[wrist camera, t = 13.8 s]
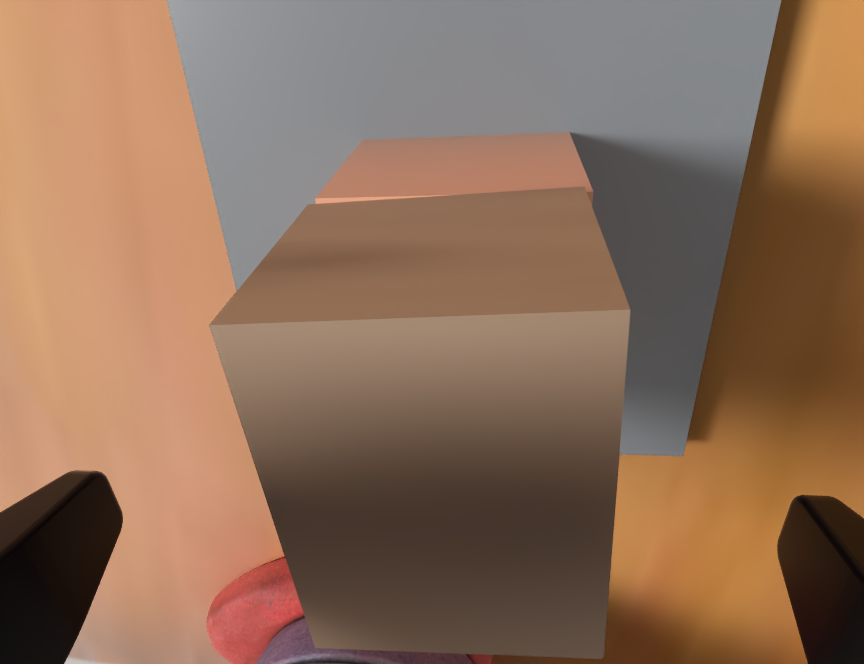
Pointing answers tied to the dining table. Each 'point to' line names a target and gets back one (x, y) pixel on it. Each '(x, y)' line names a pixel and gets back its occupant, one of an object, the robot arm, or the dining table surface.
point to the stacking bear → (289, 627)
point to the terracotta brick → (456, 167)
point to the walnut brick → (438, 418)
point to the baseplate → (504, 132)
